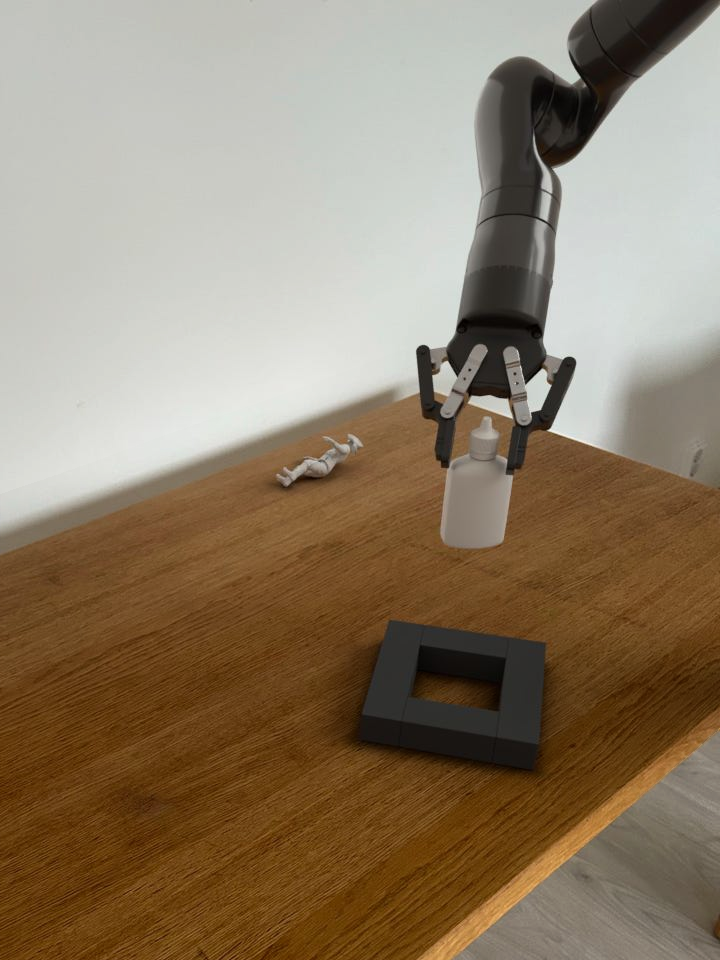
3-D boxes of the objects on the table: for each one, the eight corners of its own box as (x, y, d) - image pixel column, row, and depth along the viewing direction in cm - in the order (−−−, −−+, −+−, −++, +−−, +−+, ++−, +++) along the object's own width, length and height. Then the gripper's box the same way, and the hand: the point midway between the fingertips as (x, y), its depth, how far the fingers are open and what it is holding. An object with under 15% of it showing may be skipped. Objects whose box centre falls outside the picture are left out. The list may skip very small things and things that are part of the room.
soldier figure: (266, 483, 132) (327, 430, 136) (291, 511, 132) (351, 458, 136) (287, 463, 125) (350, 408, 129) (312, 493, 125) (375, 437, 129)
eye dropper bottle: (448, 523, 96) (462, 403, 88) (507, 535, 93) (526, 413, 86) (434, 544, 92) (447, 422, 85) (494, 558, 90) (513, 433, 83)
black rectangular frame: (541, 667, 98) (546, 642, 96) (533, 770, 86) (538, 744, 84) (386, 643, 101) (389, 619, 100) (359, 740, 90) (361, 714, 88)
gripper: (423, 256, 87) (390, 444, 85) (597, 266, 84) (568, 463, 81) (426, 300, 94) (396, 474, 92) (587, 310, 91) (560, 492, 89)
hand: (477, 468), depth 87 cm, fingers closed on eye dropper bottle, 5 cm apart
